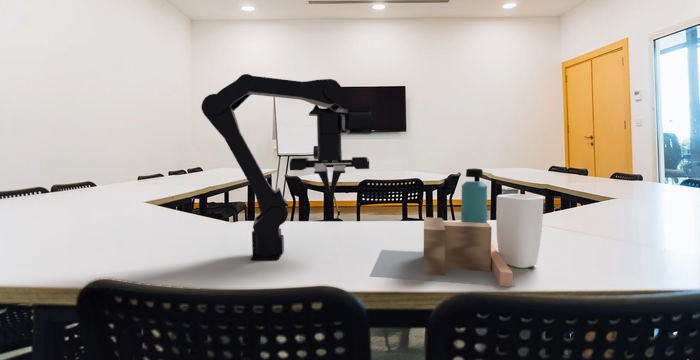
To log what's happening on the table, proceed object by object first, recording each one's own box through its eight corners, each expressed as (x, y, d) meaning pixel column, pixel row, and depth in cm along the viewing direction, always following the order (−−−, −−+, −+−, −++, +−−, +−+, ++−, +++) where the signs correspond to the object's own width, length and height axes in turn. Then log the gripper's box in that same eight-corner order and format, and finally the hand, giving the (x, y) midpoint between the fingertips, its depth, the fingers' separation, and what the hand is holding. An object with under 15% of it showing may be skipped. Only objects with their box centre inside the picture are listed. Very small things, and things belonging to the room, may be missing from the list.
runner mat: (369, 278, 65) (369, 263, 65) (381, 251, 82) (381, 239, 82) (515, 288, 59) (515, 272, 59) (494, 257, 77) (495, 245, 77)
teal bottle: (489, 249, 84) (491, 169, 82) (461, 247, 85) (462, 169, 83) (484, 242, 90) (486, 167, 88) (458, 241, 91) (459, 167, 90)
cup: (522, 273, 67) (524, 199, 66) (491, 263, 73) (493, 195, 72) (544, 267, 70) (547, 196, 69) (513, 257, 77) (515, 193, 75)
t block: (423, 274, 66) (423, 229, 65) (423, 255, 77) (424, 217, 77) (494, 279, 63) (495, 231, 62) (483, 259, 74) (484, 219, 74)
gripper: (365, 135, 89) (366, 194, 90) (294, 136, 88) (296, 195, 90) (369, 133, 78) (369, 200, 79) (288, 134, 77) (290, 201, 79)
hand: (330, 199), depth 82 cm, fingers closed
